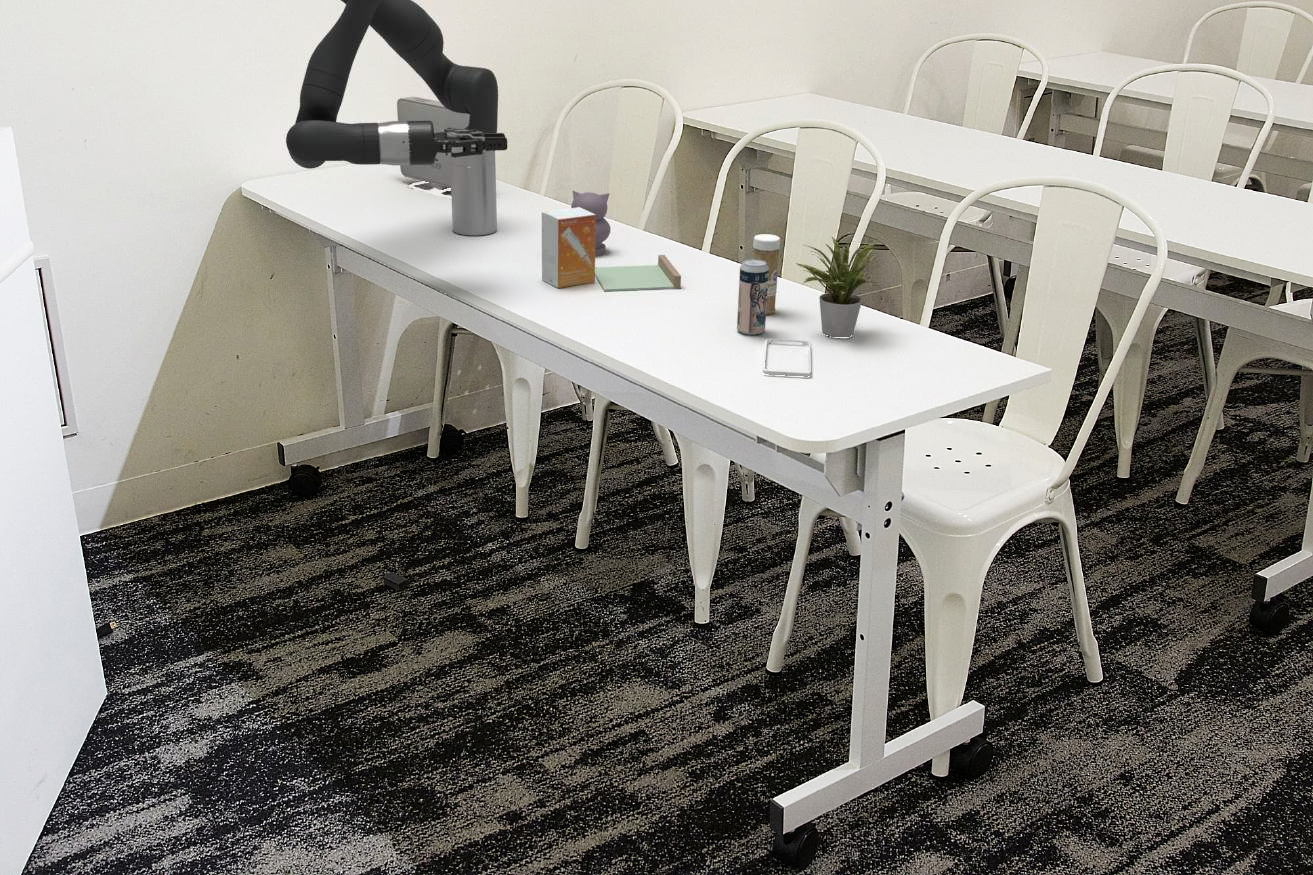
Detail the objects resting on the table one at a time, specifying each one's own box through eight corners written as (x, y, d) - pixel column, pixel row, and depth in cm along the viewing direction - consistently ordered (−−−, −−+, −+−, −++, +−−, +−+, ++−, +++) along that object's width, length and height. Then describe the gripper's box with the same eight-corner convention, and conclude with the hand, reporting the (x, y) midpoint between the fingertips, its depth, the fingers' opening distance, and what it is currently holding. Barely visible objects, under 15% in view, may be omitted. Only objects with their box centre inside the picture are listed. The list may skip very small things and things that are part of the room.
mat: (591, 269, 251) (591, 257, 250) (664, 266, 254) (664, 254, 253) (604, 291, 239) (604, 278, 238) (680, 288, 242) (680, 275, 241)
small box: (558, 289, 240) (557, 219, 234) (541, 280, 244) (540, 211, 239) (596, 282, 244) (596, 213, 238) (578, 274, 249) (578, 206, 243)
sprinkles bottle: (772, 317, 228) (777, 241, 223) (746, 313, 229) (751, 238, 224) (778, 309, 232) (783, 234, 227) (753, 306, 233) (757, 232, 228)
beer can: (756, 338, 218) (760, 268, 213) (731, 332, 220) (734, 263, 215) (770, 330, 221) (774, 261, 217) (745, 325, 224) (748, 256, 219)
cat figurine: (562, 255, 260) (561, 195, 255) (575, 245, 267) (575, 186, 262) (603, 259, 258) (603, 199, 253) (615, 249, 265) (616, 190, 260)
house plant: (833, 312, 231) (841, 221, 224) (898, 332, 222) (908, 238, 215) (780, 330, 222) (787, 235, 215) (845, 351, 213) (854, 253, 206)
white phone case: (810, 381, 202) (809, 348, 215) (811, 373, 201) (810, 340, 215) (762, 378, 202) (764, 346, 216) (762, 370, 202) (765, 338, 215)
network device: (393, 184, 311) (388, 98, 303) (422, 179, 317) (418, 94, 309) (467, 203, 296) (464, 113, 288) (495, 197, 302) (493, 108, 294)
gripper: (406, 129, 220) (510, 127, 223) (403, 113, 233) (501, 112, 236) (409, 173, 223) (511, 171, 227) (405, 156, 236) (502, 154, 239)
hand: (505, 141), depth 231 cm, fingers open, 3 cm apart
